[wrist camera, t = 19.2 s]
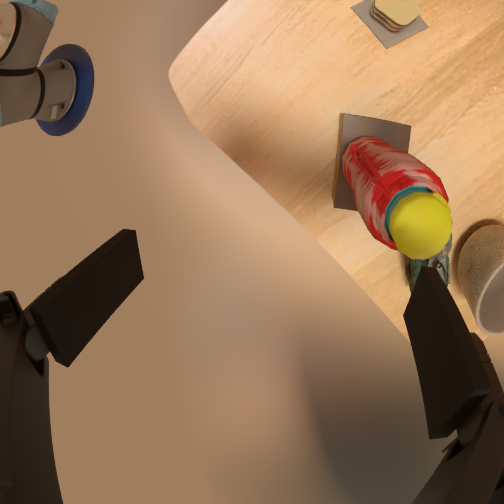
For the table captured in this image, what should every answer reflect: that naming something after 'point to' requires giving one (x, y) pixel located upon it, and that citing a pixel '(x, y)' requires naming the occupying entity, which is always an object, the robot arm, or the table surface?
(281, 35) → the table surface
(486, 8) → the table surface
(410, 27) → the stacked layers on plate
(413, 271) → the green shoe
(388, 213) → the water bottle
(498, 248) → the planter
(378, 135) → the walnut stand
